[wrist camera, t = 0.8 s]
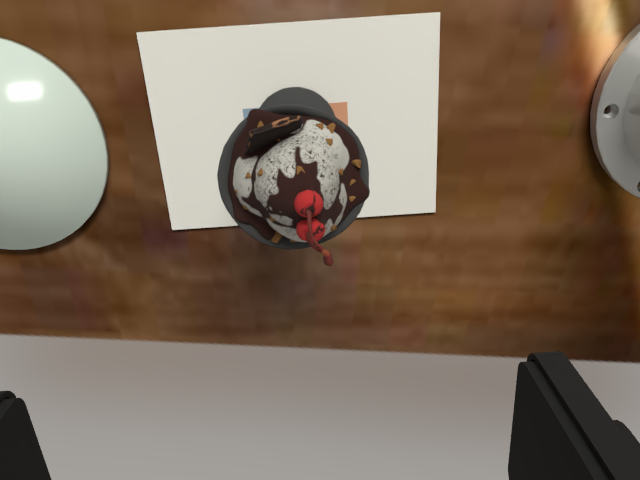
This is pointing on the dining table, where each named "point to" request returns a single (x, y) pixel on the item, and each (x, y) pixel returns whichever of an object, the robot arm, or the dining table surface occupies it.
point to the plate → (46, 151)
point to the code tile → (296, 71)
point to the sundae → (293, 172)
